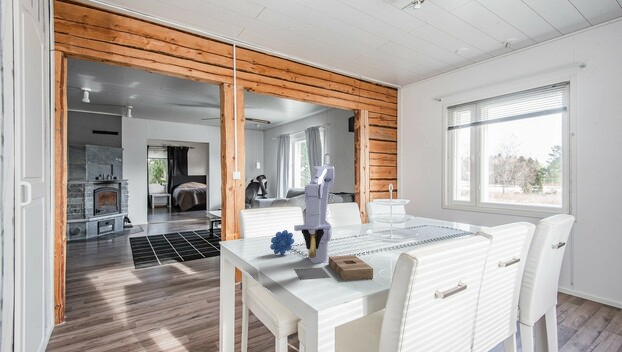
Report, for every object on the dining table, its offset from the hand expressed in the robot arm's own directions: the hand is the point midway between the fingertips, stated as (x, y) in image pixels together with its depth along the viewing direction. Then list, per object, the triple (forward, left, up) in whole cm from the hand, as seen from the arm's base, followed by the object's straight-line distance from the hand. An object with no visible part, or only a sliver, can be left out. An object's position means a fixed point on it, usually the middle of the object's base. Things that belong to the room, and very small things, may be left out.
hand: (312, 248), depth 114 cm
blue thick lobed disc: (-30, -7, -10) cm, 33 cm away
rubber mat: (0, 0, -10) cm, 10 cm away
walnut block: (0, +16, -10) cm, 19 cm away
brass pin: (0, 0, -3) cm, 3 cm away
